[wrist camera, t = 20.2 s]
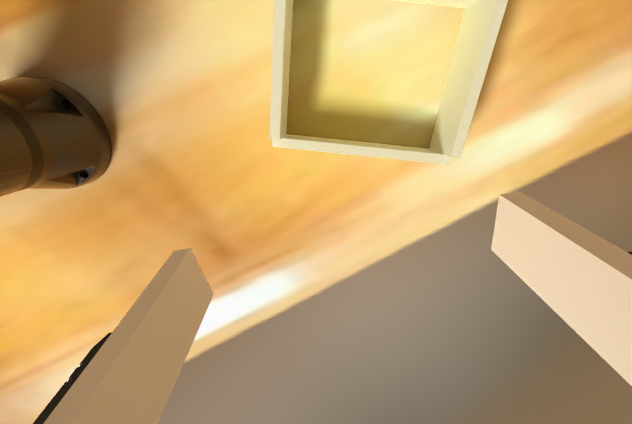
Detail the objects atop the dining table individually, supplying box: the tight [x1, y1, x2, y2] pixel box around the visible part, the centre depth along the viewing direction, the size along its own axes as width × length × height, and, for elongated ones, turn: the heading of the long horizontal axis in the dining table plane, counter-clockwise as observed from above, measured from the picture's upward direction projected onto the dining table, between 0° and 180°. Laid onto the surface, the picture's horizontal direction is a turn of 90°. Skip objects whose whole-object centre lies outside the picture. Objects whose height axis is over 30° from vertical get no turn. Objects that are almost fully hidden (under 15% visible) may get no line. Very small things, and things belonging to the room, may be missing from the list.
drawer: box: [270, 0, 508, 165], centre depth 31 cm, size 23×19×9 cm
